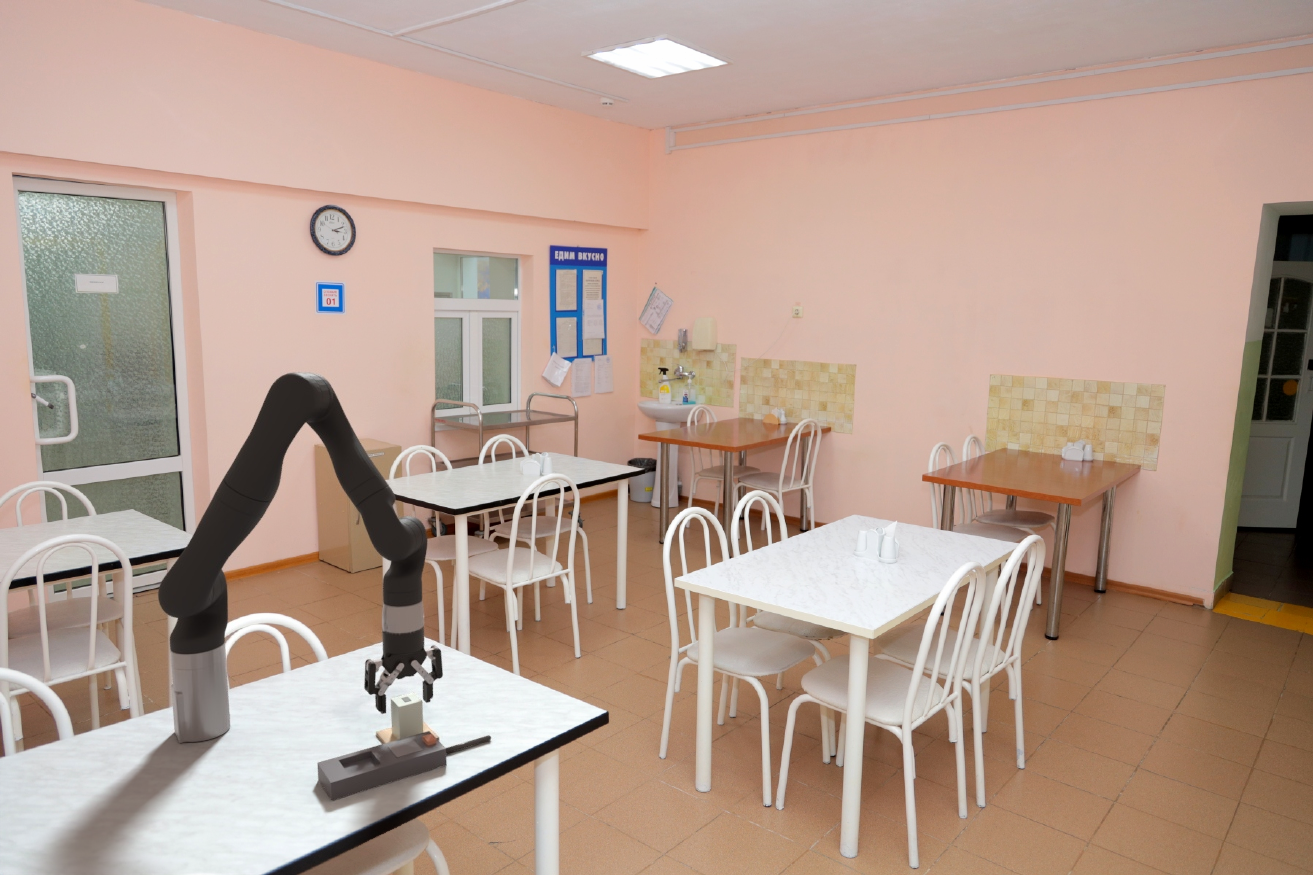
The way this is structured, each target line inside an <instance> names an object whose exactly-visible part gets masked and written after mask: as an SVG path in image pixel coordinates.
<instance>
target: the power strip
mask: <svg viewBox="0 0 1313 875" xmlns="http://www.w3.org/2000/svg"><path fill="white" fill-rule="evenodd" d="M491 739H492V736H491V735H484V736H481V737H478V738H476V739H471V740H469V741H468V740H467V741H465V742H461V743H459V744H455V745H451V746H447V747H446V746H445V745H444V744H442V743H441V742H440V739H439V740H438V739H437V738H436V737H435V736H434V735H433V734H432V733H431V732H430V731H427V732H424V733H420V734H417V735H413V736H410V737H406V738H402V739H399V740H395V741H392V742H388V743H385V744H384V743H382V744H378V745H375V746H372V747H368V748H364V749H360V750H357V751H354V752H351V753H350V752H349V753H346V754H343V755H340V756H339V755H338V756H337V757H333V758H329V759H325V760H321V761H318V762H317V780H318V782H319V783H320V785H321V787H322V788H323V790H324V791H325V793H326V794H327V796H328V797H329V799H330V801H331V802H332V801H337V800H340V799H342V798H345V797H349V796H352V795H355V794H359V793H362V792H364V791H365V792H366V791H368V790H371V789H374V788H377V787H382V786H383V785H387V784H391V783H394V782H397V781H400V780H403V779H406V778H410V777H412V776H417V775H419V774H422V773H427V772H429V771H432V770H435V769H436V770H437V769H438V768H441V767H444V766H445V767H446V766H447V764H448V763H447V754H450V753H454V752H457V751H460V750H464V749H466V748H470V747H473V746H477V745H480V744H483V743H487V742H490V741H491Z"/></svg>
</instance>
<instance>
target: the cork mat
mask: <svg viewBox="0 0 1313 875" xmlns="http://www.w3.org/2000/svg"><path fill="white" fill-rule="evenodd" d="M427 731H430V732H431V733H432V734H433V735H434V736H435V737H436V738H437V739H438V740H439V741H440V736H439V735H438V734H437V733H436V732H435V731H434V730H433V729H432V728H431V727H430V726H429V725H428V724H427V723H426V721H424V720H423V733H424V732H427ZM375 733H376V734H375V735H376V737H377V738H378V739H379V740H380V741H381V743H382V744H385V743H388V742H392V741H395V740H398V739H397V738H396V737H395V736H394V735H393V734H392V727H389V728H385V729H382V730H379V731H375Z"/></svg>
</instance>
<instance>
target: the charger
mask: <svg viewBox="0 0 1313 875" xmlns="http://www.w3.org/2000/svg"><path fill="white" fill-rule="evenodd" d="M423 710H424V709H423V699H421V698H420V697H419V696H418V695H417V694H416V693H415V692H411V693H406V694H403V695H398V696H395V697H390V711H391V713H390V714H391V719H390V720H391V728H392V734H393V735H394V736H395V737H396V738H397V739H398V740H399V739H402V738H406V737H410V736H413V735H417V734H420V733H423V721H424V714H423Z"/></svg>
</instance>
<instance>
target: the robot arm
mask: <svg viewBox="0 0 1313 875" xmlns="http://www.w3.org/2000/svg"><path fill="white" fill-rule="evenodd" d="M305 424H307V425H308V426H309V427H310V428H311V430H313V431H314V432H315V433H316V435H317V436H318V437H319V439H320V440H321V442H322V443H323V445H324V447H325V449H326V451H327V453H328V455H329V458H330V460H331V464H332V467H333V469H334V473H335V476H336V478H337V481H338V482H339V484H340V486H341V488H342V490H343V491H344V492H345V494H346V495H347V497H348V498H349V500H350V501H351V503H352V505H353V506H354V507H355V508H356V510H357V511H358V513H359V514H360V516H361V518H362V519H361V520H362V521H363V524H364V527H365V530H366V532H367V535H368V537H369V540H370V542H371V544H372V546H373V548H374V549H375V550H376V552H377V553H378V554H379V555H380V556H381V557H382V558H384V559H385V560H387V561H389V562H390V564H389V565H390V566H389V568H388V569H387V570H386V572H385V573H384V575H383V578H382V611H381V629H382V632H381V633H382V634H381V636H382V656H381V658H380V659H373V660H372V659H371V658H367V659H366V660H365V662H364V685H363V686H364V687H363V688H364V690H365V691H366V692H367V694H369V695H370V696H373V695H375V708H376V710H377V711H378V712H380V714H381V715H383V714H387V695H386V692H387V690H388V689H389V687H390V686H392V685H393V683H394V682H395V681H396V679H397V680H403V679H404V678H406V677H407V678H408V677H409V678H410V677H415V675H416V674H418V675H420V676H421V678H422V679H423V681H422V701H424V702H425V703H426V704H427V703H431V700H433V698H434V682H435V681H436V680H438V679H442V678H443V676H444V672H443V670H444V669H443V660H442V659H443V658H442V650H441V648H439V647H438V646H436V645H434V644H432V645H431V646H430V648H427V649H425V620H426V619H425V618H426V617H425V610H424V603H423V582H422V581H423V580H422V577H423V572H424V567H425V564H426V563H425V562H426V558H427V551H428V533H427V529H426V527H425V525H424V523H423V522H422V520H420V519H419V518H417V517H416V516H412V515H411V516H410V515H407V516H402V517H400V518H399V517H398V515H397V513H396V510H395V509H394V504H395V503H396V498H397V497H396V495H395V493H394V491H393V490H392V488H391V487H390V484H389V483H388V482H387V481H386V479H385V478H384V476H383V475H382V473H381V472H380V471H379V469H378V467H377V466H376V465H375V463H374V462H373V460H372V459H371V457H370V455H369V454H368V453H367V451H366V450H365V448H364V446H363V445H362V443H361V441H360V440H359V438H358V436H357V435H356V432H355V430H354V428H353V427H352V425H351V423H350V421H349V419H348V417H347V415H346V413H345V411H344V408H343V406H342V404H341V402H340V400H339V398H338V395H337V394H336V392H335V390H334V388H333V386H332V384H331V383H330V381H329V380H328V379H326V378H325V377H324V376H322V375H320V374H317V373H315V372H306V371H305V372H302V371H301V372H300V371H298V372H296V371H295V372H293V371H292V372H289V373H288V372H287V373H285V374H282V375H281V376H279V377H278V378H277V379H276V380H274V382H273V383H272V385H270V387H269V390H268V392H267V394H266V396H265V398H264V401H263V403H262V405H261V407H260V410H259V412H258V415H257V417H256V419H255V422H254V424H253V426H252V428H251V431H250V433H249V434H248V436H247V438H246V440H245V441H244V442H243V444H242V446H241V448H240V449H239V451H238V453H237V455H236V457H235V459H234V460H233V462H232V463H231V465H230V467H229V468H228V470H227V472H226V473H225V475H224V476H223V478H222V480H221V482H220V484H219V485H218V487H217V489H216V490H215V492H214V494H213V497H212V498H211V500H210V502H209V504H208V506H207V508H206V510H205V511H204V513H203V515H202V517H201V519H200V520H199V522H198V525H197V527H196V528H195V530H194V533H193V535H192V537H191V539H190V540H189V542H188V543H187V545H186V547H185V548H184V549H183V551H182V552H181V554H180V555H179V557H178V558H177V559H176V561H175V562H174V563H173V565H172V566H171V568H170V569H169V570H168V571H167V573H166V574H165V576H164V577H163V578H162V580H161V581H160V584H159V588H158V592H157V598H158V603H159V606H160V608H161V609H162V611H163V612H164V613H165V614H166V615H168V616H169V617H172V618H175V619H176V618H177V620H176V623H175V625H174V627H173V629H172V631H171V633H170V636H169V650H170V662H171V663H170V664H171V675H172V676H171V677H172V680H171V681H172V683H171V687H170V688H171V698H172V700H171V701H172V713H173V726H174V733H175V736H176V738H177V741H178V742H177V743H178V744H181V743H186V742H187V743H188V742H194V743H195V742H203V741H208V740H212V739H214V738H217V737H219V736H221V735H223V734H225V733H226V732H227V731H229V729H230V728H231V712H230V700H229V698H230V697H229V685H228V684H229V682H228V668H227V667H228V666H227V665H228V664H227V654H226V631H227V627H228V622H229V606H228V605H229V603H228V602H229V600H228V597H229V596H228V594H229V593H228V582H227V577H226V574H225V572H224V570H223V567H224V566H225V564H226V563H227V561H228V560H229V558H230V557H231V556H232V554H233V553H235V551H236V550H237V549H238V548H239V547H240V545H241V544H242V543H243V542H244V541H245V540H246V539H247V537H248V536H249V535H250V534H251V533H252V531H253V530H254V529H255V528H256V527H257V525H258V524H259V523H260V521H261V520H262V518H264V516H265V514H266V512H267V511H268V509H269V507H270V505H271V503H272V501H273V500H274V498H275V496H276V494H277V493H278V491H279V486H280V483H281V480H282V472H283V466H284V460H285V456H286V453H287V452H288V450H289V447H290V446H291V444H292V442H293V441H294V439H295V438H296V436H297V435H298V433H299V431H300V430H302V428H303V427H304V425H305ZM427 657H428V658H429V660H430V661H431V664H430V665H431V672H428V671H427V670H426V669H425V668H424V667H423V666H422V665H423V663H424V662H425V660H426V659H427ZM380 667H383V668H384V670H383V671H382V673H381V674H380V676H379V679H378V680H377V679H376V677H377V675H376V674H377V673H378V672H379V669H380ZM376 680H377V682H376Z"/></svg>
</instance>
